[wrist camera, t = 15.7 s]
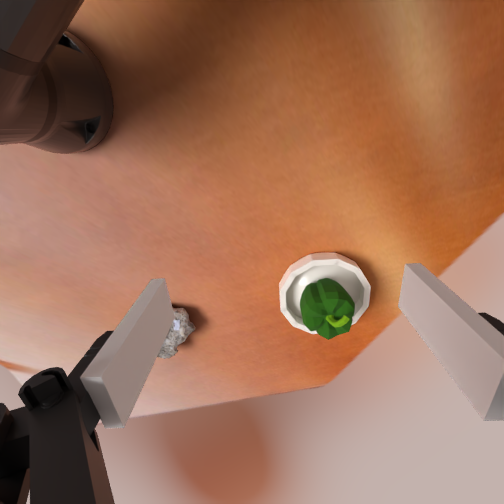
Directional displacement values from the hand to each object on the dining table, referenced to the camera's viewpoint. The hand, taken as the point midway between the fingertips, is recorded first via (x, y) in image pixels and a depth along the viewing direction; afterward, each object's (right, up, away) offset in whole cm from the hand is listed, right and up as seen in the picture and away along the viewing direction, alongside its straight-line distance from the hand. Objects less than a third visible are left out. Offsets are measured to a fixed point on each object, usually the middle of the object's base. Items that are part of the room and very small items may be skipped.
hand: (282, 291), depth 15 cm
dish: (+11, -5, +33) cm, 35 cm away
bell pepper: (+10, -5, +33) cm, 35 cm away
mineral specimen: (-18, -12, +38) cm, 44 cm away
